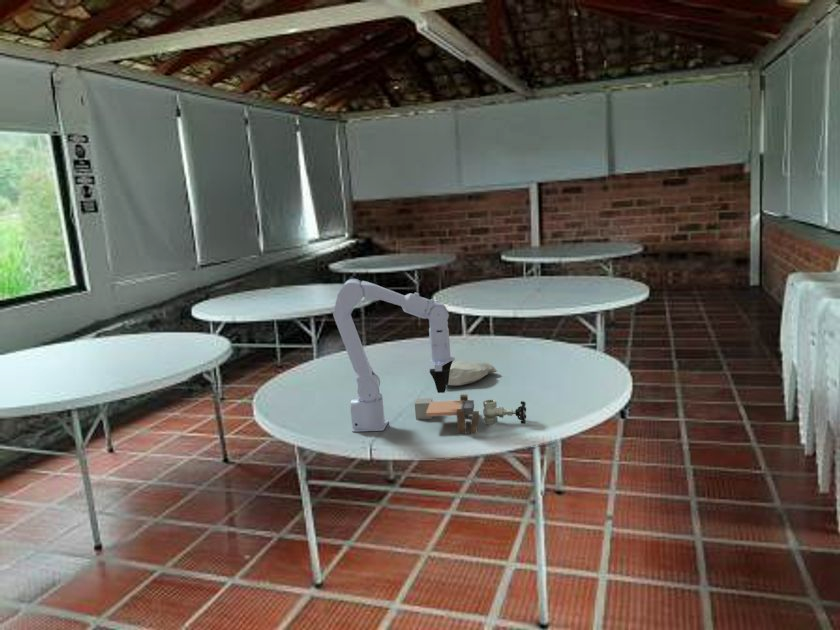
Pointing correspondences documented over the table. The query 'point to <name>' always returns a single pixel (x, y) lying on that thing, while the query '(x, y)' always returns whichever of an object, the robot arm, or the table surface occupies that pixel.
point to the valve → (501, 412)
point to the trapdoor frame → (461, 419)
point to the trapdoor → (450, 408)
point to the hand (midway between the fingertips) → (443, 388)
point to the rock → (468, 372)
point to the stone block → (422, 408)
